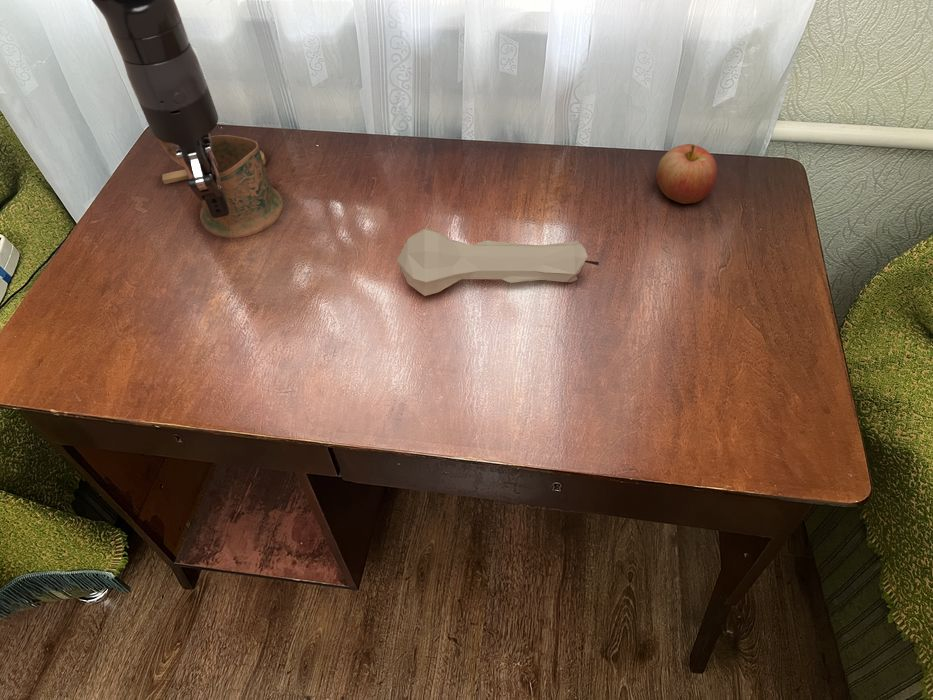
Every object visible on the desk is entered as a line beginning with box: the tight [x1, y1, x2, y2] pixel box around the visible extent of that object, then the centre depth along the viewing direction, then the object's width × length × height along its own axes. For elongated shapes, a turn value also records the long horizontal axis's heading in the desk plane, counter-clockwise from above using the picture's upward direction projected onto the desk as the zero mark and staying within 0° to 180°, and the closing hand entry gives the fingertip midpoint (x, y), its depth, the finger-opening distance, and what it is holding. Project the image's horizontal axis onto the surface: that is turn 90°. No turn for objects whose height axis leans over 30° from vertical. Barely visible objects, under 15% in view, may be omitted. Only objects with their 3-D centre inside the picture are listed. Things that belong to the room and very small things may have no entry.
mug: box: [157, 134, 284, 239], centre depth 95 cm, size 12×18×12 cm, turn 60°
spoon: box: [161, 149, 267, 185], centre depth 105 cm, size 15×4×1 cm, turn 108°
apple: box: [655, 143, 718, 205], centre depth 95 cm, size 8×8×8 cm
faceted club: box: [396, 227, 600, 297], centre depth 86 cm, size 9×8×25 cm
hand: (220, 213), depth 90 cm, fingers closed
